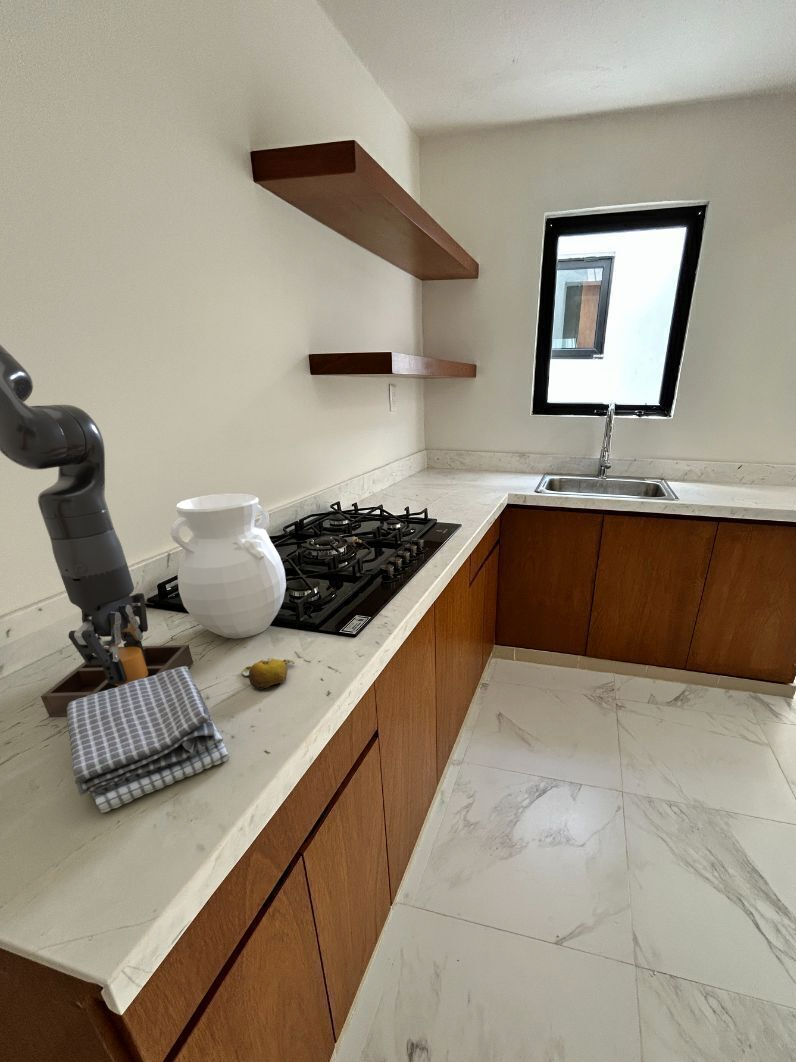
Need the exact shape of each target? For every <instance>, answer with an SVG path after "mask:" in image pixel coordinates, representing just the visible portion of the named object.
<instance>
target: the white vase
mask: <svg viewBox="0 0 796 1062" xmlns="http://www.w3.org/2000/svg"><path fill="white" fill-rule="evenodd" d="M259 500H260V498H258V497H257V496H256V495H254V494H250V493H241V492H231V493H216V494H215V493H214V494H207V495H201V496H200V495H199V496H195V497H192V498H191V497H190V498H188V499H184V500H181V501H180V502H177V504H176V506H175V510H176V512H177V515H178V516H179V517H178V518H177V519H176V520H174V521H173V523H172V525H171V526H170V536H171V538H172V541H173V542H174V543H175V544H177V545H178V546H179V547H181V549H182V550H183V551H182V553H181V556H180V558H179V563H178V571H177V585H178V586H177V587H178V593H179V596H180V599H181V602H182V605H183V607H184V608H185V610H186V611H187V612H188V614H189V615H190V616H191V618H192V620H193V621H194V622H195V623H196V624H198V625H200V626H201V627H202V628H204V629H205V630H206V631H209V632H212V633H214V634H216V635H218V636H221V637H223V638H226V639H232V640H233V639H236V640H237V639H244V638H245V639H246V638H249V637H253V636H256V635H259V634H261V633H263V632H264V631H266V630H268V628H269V627H270V626H271V624H272V622H273V621H274V620H275V618H276V616H277V615H278V614H279V611H280V609H281V607H282V604H283V603H284V599H285V594H286V588H287V580H286V571H285V567H284V564H283V561H282V559H281V556H280V554H279V552H278V550H277V549H276V547H275V545H274V544H273V542H272V541H271V538H270V536H269V533H268V532H267V530H268V528H269V525H270V523H271V522H270V521H271V520H270V519H271V518H270V514H269V512H268V510H267V509H265V508H264V507H262V506H261V505H259ZM257 513H258V514H259V521H258V522H257V523H256V524H255V522H256V518H257ZM182 527H186V528H187V529H188V530H189V531H190V532H191V533H192V535H191V536H190V538H189V539H188V541H187V542H186V541H185V540H183V539H182V537H181V536H180V530H181V529H182Z"/></svg>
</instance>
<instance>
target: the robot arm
mask: <svg viewBox="0 0 796 1062" xmlns="http://www.w3.org/2000/svg"><path fill="white" fill-rule="evenodd" d="M33 390H34V381H33V379H32V376H31V375H30V374H29V372H28V371H27V370H26V368H25V367H24V366H23V365H22V364H21V363H20V362H19V361H18V360H17V359H16V358H15V357H14V356H13V355H12V354H11V353H10V352H9V351H8V350H7V349H6V348H5V347H4V346H3V345H2V344H1V343H0V453H1V455H3V456H5V457H6V458H7V459H8V460H10V461H11V462H13V463H14V464H17V465H18V466H21V467H23V468H26V469H29V470H33V471H41V470H48V469H54V468H57V469H58V471H57V472H58V473H57V480H56V482H54V484H53V485H51V486H49V487H47V488H45V489H44V490H42V491H41V492H39V494H38V496H37V504H38V508H39V511H40V514H41V517H42V520H43V523H44V526H45V528H46V532H47V534H48V536H49V541H50V544H51V549H52V554H53V558H54V561H55V563H56V566H57V569H58V573H59V575H60V577H61V580H62V583H63V586H64V588H65V591H66V594H67V596H68V600H69V602H70V603H71V604H72V605H74V606H75V607H78V608H79V609H80V611H81V623H82V624H81V625H80V627H79V628H78V629H75V630H70V631H69V632H68V636H67V637H68V639H69V640H70V641H71V643H72V644H73V646H74V647H75V648H76V650H77V652H78V653H79V655H80V656H81V657H82V659H83V660H84V662H86V663H87V665H102V667H103V670H104V672H105V674H106V678H107V681H108V682H109V683H110V684H124V683H125V682H126V681H127V677H126V674H125V671H124V668H123V665H122V662H121V659H119V650H118V647H119V645H120V644H122V642H124V643H123V647H124V648H125V647H139V648H140V649H141V651H142V654H143V657H144V660H145V662H146V657H145V652H144V649H143V646H144V645H143V643H142V641H143V638H144V636H143V635H144V634H143V633H146V632H147V631H148V630H149V624H148V616H147V615H148V614H147V607H146V598H145V594H144V593H143V592H137V593H136V592H134V590H135V585H134V582H133V579H132V575H131V571H130V569H129V566H128V562H127V559H126V556H125V555H126V554H125V552H124V549H123V546H122V543H121V540H120V538H119V536H118V534H117V532H116V529H115V527H114V523H113V521H112V517H111V513H110V510H109V506H108V504H107V501H106V496H105V495H106V494H105V493H106V450H105V449H106V448H105V442H104V438H103V436H102V432H101V429H100V428H99V426H98V425H97V423H96V422H95V421H94V419H93V418H92V417H91V415H89V414H88V413H87V412H86V411H85V410H83V409H82V408H80V407H78V406H75V405H72V404H47V405H28V404H26V403H25V402H26V401H27V400H29V398H30V397H31V395H32V393H33ZM133 592H134V593H133ZM137 617H138V620H139V621H138V620H137ZM108 637H109V638H108ZM103 638H108V639H103ZM104 647H109V651H110V653H108V654H107V652H106V651H105V649H104ZM94 654H95V656H94Z"/></svg>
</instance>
